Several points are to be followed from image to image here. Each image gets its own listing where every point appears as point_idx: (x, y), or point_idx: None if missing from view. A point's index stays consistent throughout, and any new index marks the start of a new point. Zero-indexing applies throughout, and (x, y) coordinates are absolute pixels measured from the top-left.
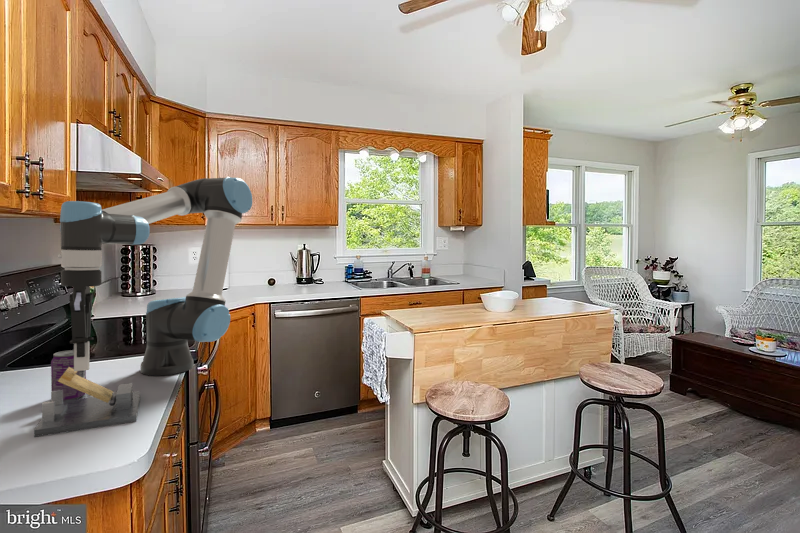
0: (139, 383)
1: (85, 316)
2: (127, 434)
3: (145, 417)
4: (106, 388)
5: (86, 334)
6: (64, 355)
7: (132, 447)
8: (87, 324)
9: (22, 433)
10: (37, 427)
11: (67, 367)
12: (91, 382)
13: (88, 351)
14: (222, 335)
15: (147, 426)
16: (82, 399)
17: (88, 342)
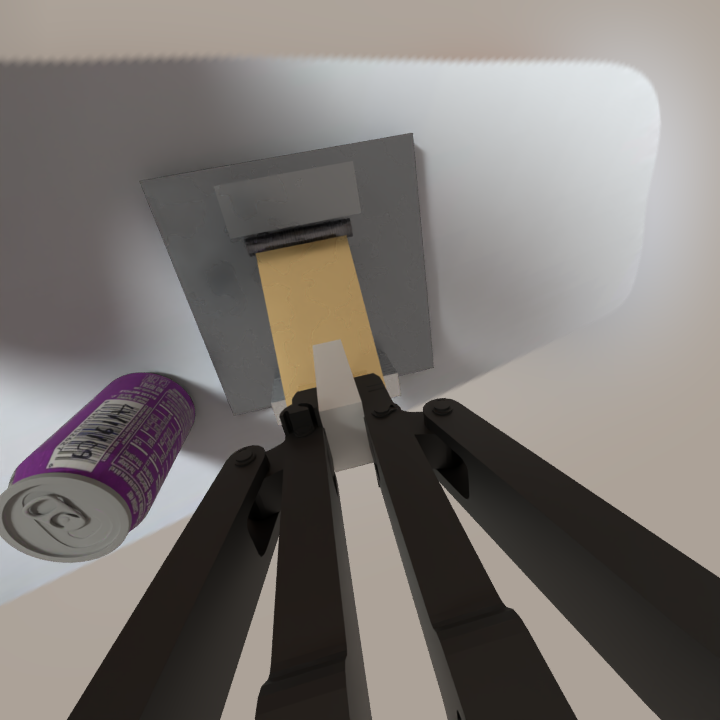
0: None
1: (604, 553)
2: (494, 141)
3: (378, 112)
4: (263, 276)
5: (411, 434)
6: (124, 512)
7: (584, 104)
8: (404, 496)
9: None
10: (418, 368)
11: (151, 463)
12: (281, 327)
13: (349, 375)
14: None
15: (458, 88)
16: (222, 352)
17: (359, 401)
